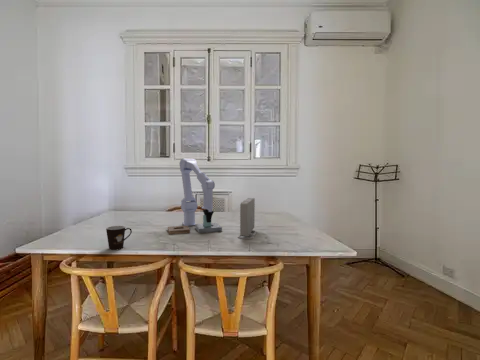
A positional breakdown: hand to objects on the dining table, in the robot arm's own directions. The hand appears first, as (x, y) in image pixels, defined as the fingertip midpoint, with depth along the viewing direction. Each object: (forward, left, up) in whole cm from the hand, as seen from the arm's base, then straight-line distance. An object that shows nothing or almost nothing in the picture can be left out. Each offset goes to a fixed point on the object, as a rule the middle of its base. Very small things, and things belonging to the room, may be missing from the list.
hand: (208, 221), depth 186 cm
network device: (+19, +19, -5) cm, 28 cm away
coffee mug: (+26, -49, -5) cm, 56 cm away
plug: (0, -1, -3) cm, 3 cm away
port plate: (0, 0, -5) cm, 5 cm away
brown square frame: (-1, -18, -5) cm, 19 cm away
